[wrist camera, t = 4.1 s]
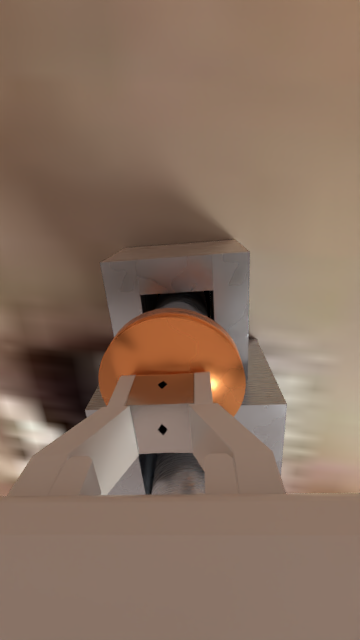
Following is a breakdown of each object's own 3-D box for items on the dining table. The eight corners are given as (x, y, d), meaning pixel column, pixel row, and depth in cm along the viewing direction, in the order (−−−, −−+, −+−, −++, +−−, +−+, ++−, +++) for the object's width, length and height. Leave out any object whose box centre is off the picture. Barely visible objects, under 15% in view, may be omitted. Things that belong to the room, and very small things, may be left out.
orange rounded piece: (220, 259, 16) (246, 314, 8) (222, 334, 18) (245, 440, 10) (139, 265, 17) (84, 323, 8) (149, 338, 19) (112, 443, 10)
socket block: (256, 338, 19) (287, 404, 13) (253, 443, 23) (275, 533, 17) (120, 345, 20) (84, 410, 14) (138, 445, 24) (117, 532, 18)
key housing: (234, 239, 17) (249, 251, 12) (235, 339, 20) (247, 380, 15) (124, 247, 18) (99, 262, 13) (139, 344, 20) (123, 385, 16)
